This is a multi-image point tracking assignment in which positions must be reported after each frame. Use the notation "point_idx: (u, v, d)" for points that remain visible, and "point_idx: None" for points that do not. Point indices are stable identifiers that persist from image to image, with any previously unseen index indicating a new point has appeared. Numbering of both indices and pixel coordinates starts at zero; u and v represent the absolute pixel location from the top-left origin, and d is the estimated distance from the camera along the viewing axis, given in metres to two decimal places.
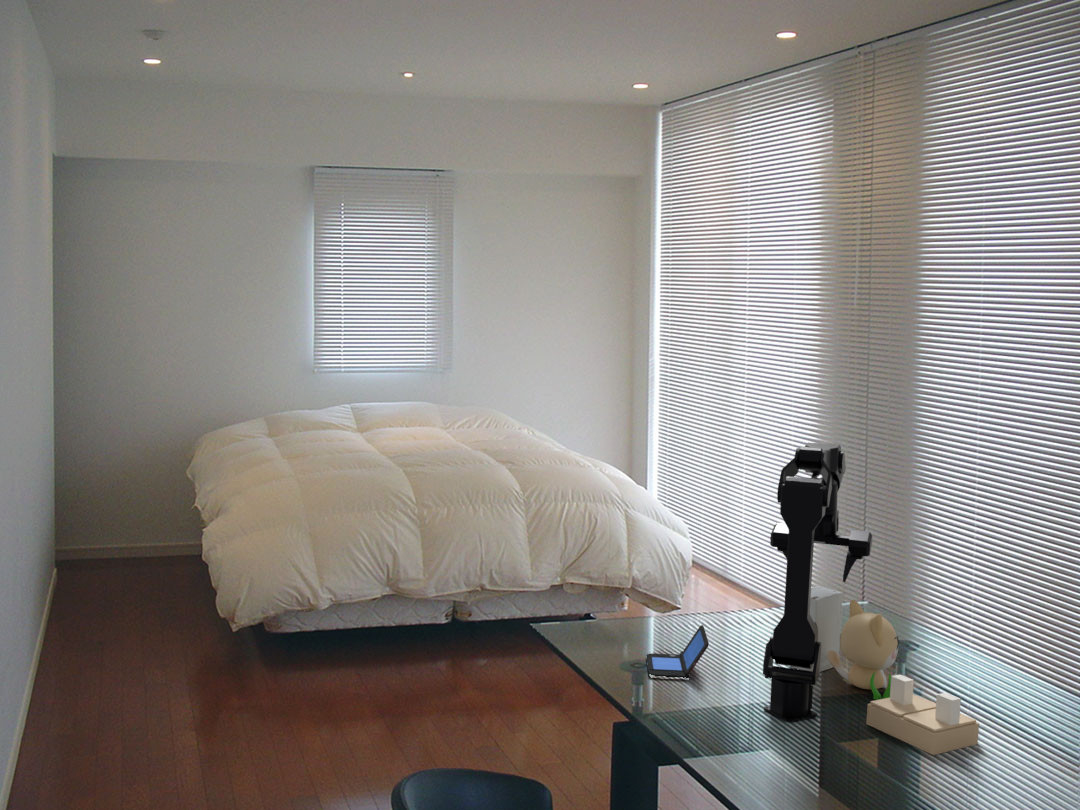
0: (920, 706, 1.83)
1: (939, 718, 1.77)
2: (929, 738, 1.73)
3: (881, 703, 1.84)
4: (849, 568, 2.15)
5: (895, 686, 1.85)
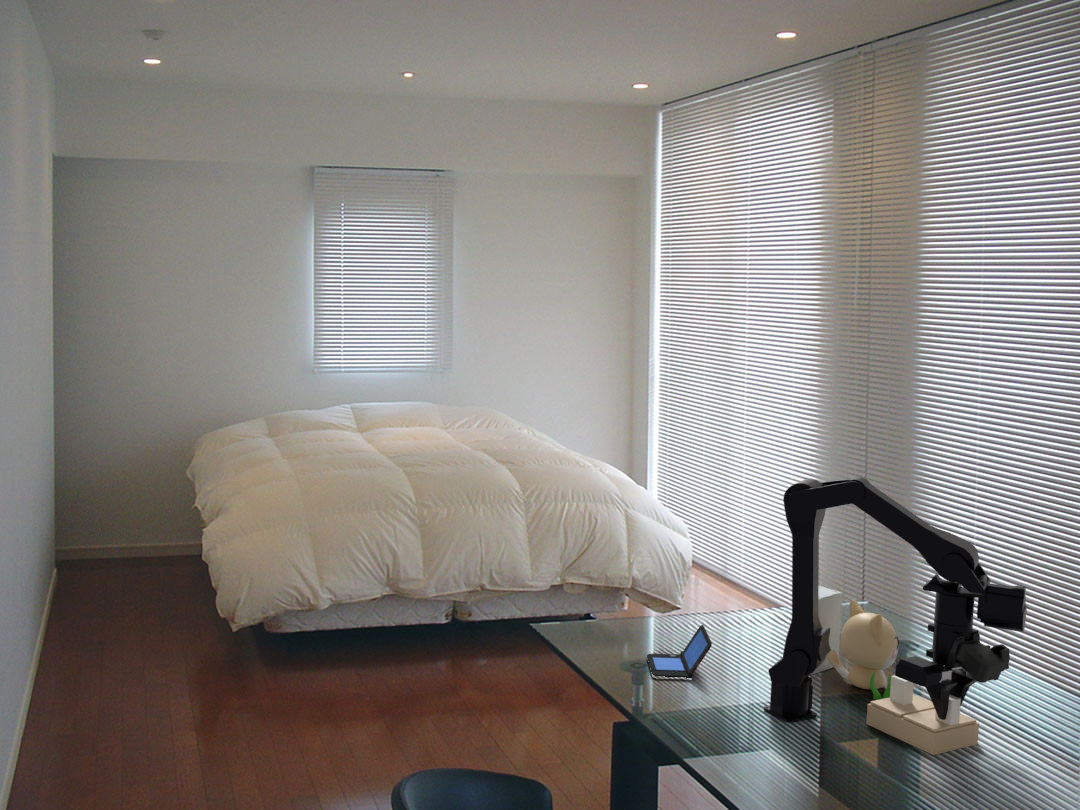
0: (920, 706, 1.83)
1: (939, 718, 1.77)
2: (929, 738, 1.73)
3: (881, 703, 1.84)
4: None
5: (895, 686, 1.85)
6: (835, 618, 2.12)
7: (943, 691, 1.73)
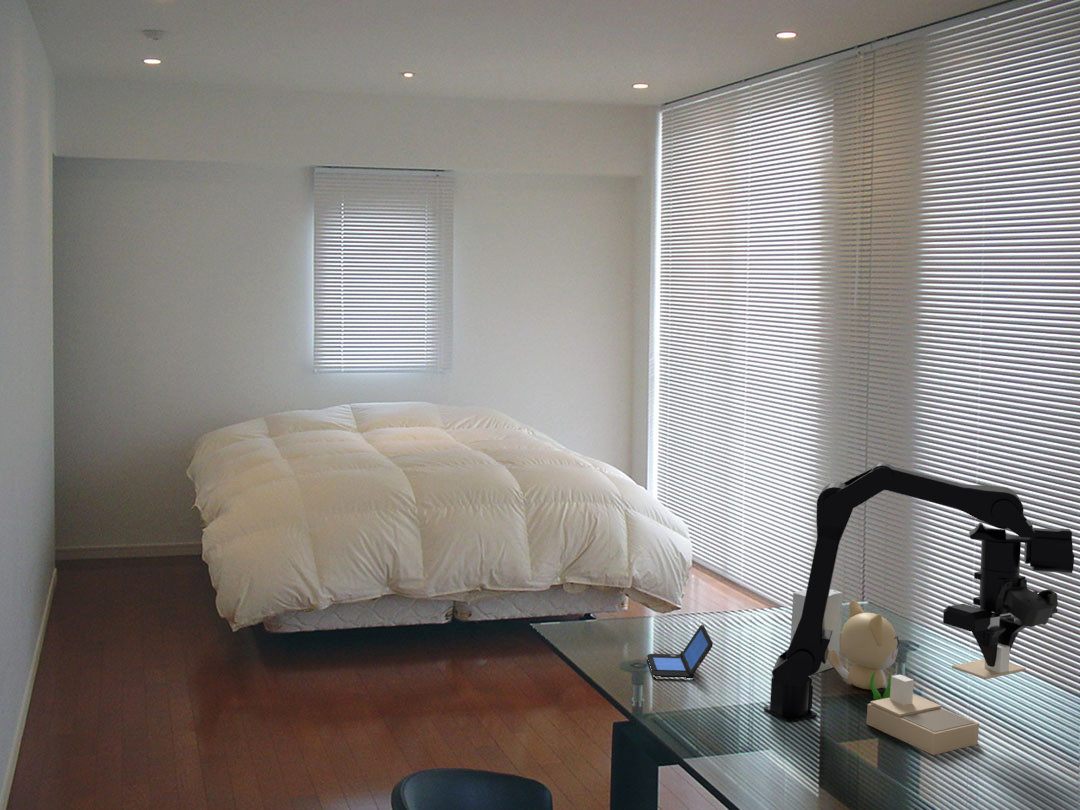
0: (920, 706, 1.83)
1: (988, 667, 1.77)
2: (929, 738, 1.73)
3: (881, 703, 1.84)
4: None
5: (895, 686, 1.85)
6: (835, 618, 2.12)
7: (991, 637, 1.74)
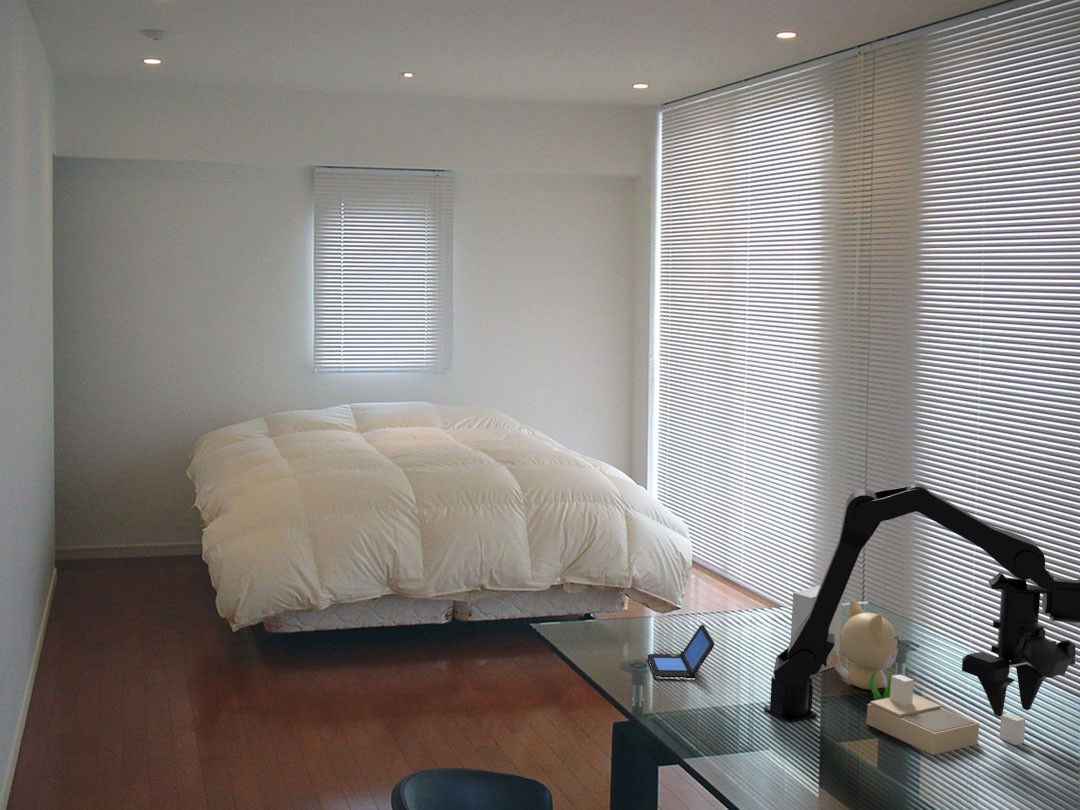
0: (920, 706, 1.83)
1: (1004, 738, 1.80)
2: (929, 738, 1.73)
3: (881, 703, 1.84)
4: None
5: (895, 686, 1.85)
6: (835, 618, 2.12)
7: (1000, 688, 1.75)
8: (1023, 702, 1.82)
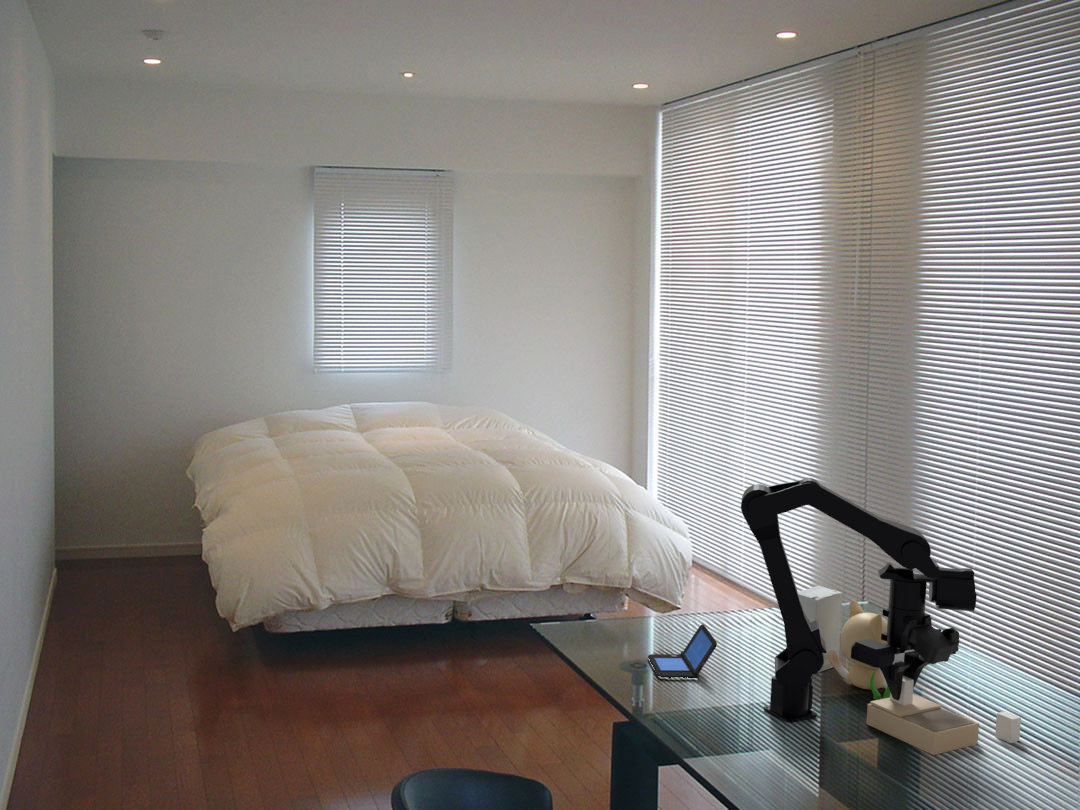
0: (920, 706, 1.83)
1: (999, 736, 1.80)
2: (929, 738, 1.73)
3: (881, 703, 1.84)
4: None
5: None
6: (835, 618, 2.12)
7: (896, 672, 1.82)
8: None
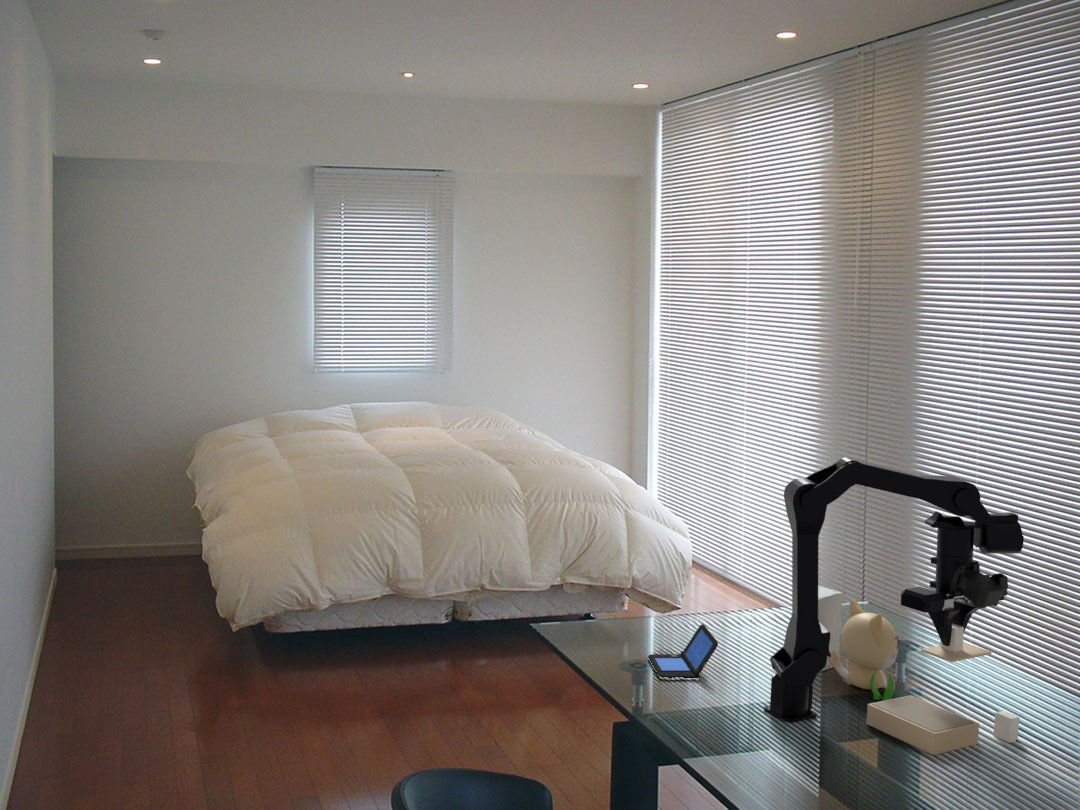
0: (971, 652, 1.86)
1: (998, 736, 1.81)
2: (929, 738, 1.73)
3: (932, 650, 1.87)
4: None
5: None
6: (835, 618, 2.12)
7: (946, 618, 1.85)
8: None
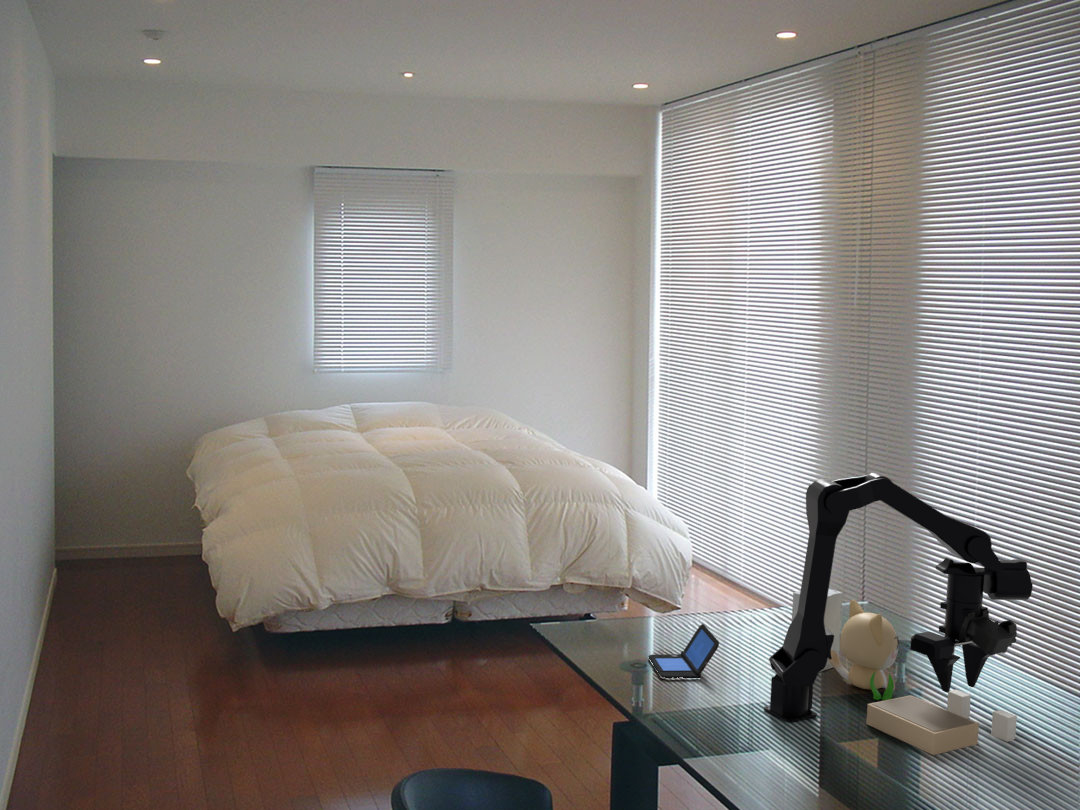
0: None
1: (995, 735, 1.81)
2: (929, 738, 1.73)
3: None
4: None
5: (952, 701, 1.90)
6: (835, 618, 2.12)
7: (947, 665, 1.86)
8: (968, 680, 1.92)
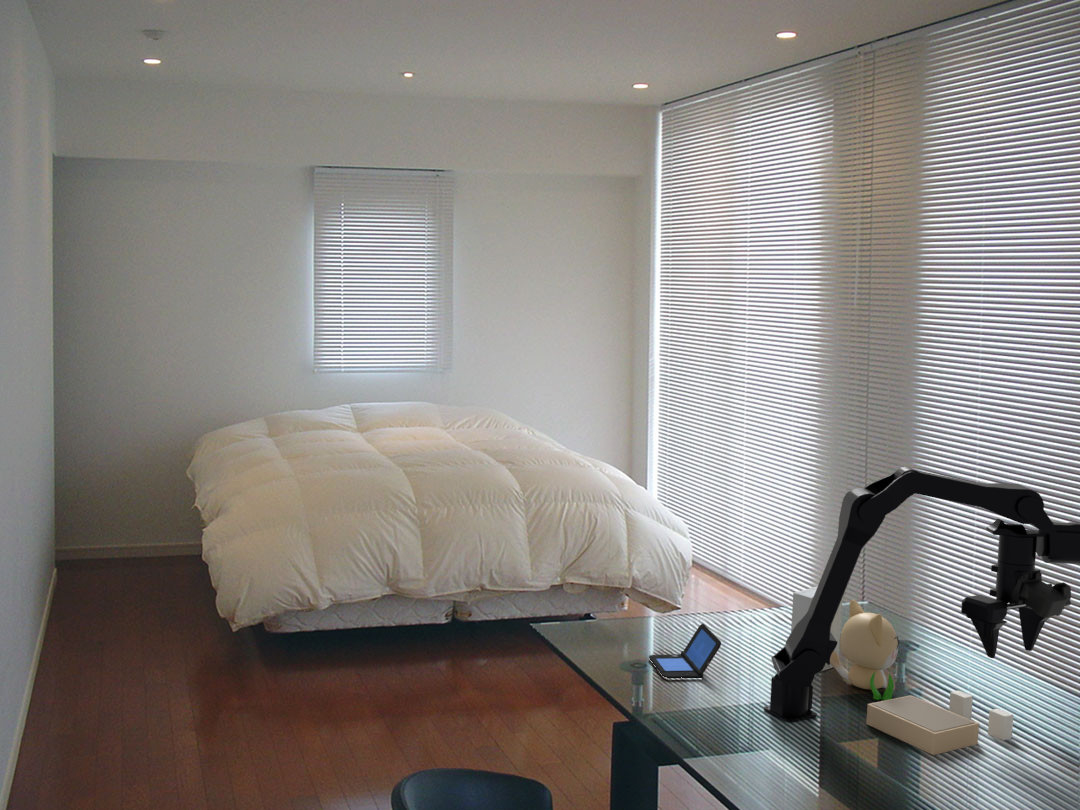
0: None
1: (992, 733, 1.82)
2: (929, 738, 1.73)
3: None
4: None
5: (954, 702, 1.90)
6: (835, 618, 2.12)
7: (993, 630, 1.81)
8: (1025, 644, 1.88)
